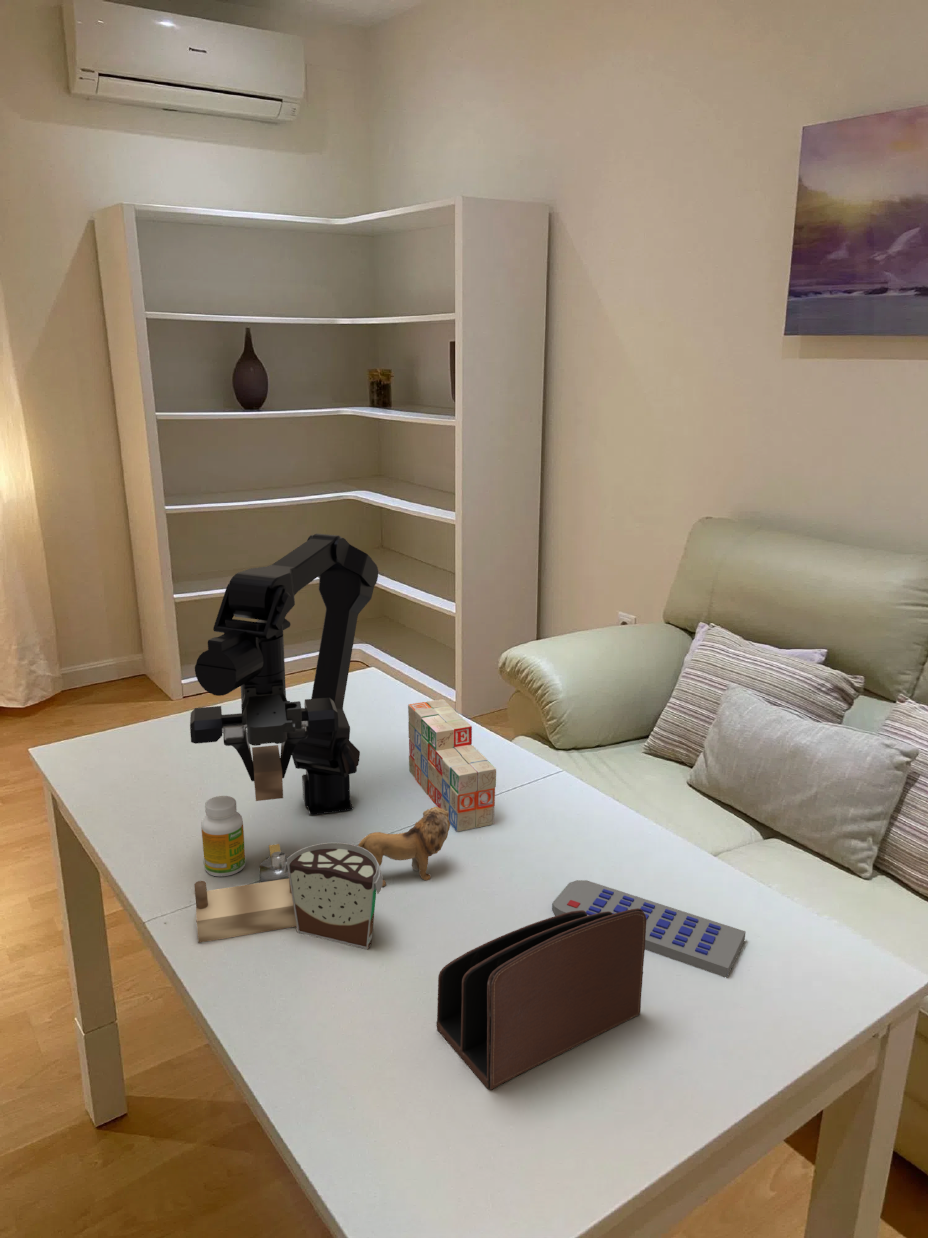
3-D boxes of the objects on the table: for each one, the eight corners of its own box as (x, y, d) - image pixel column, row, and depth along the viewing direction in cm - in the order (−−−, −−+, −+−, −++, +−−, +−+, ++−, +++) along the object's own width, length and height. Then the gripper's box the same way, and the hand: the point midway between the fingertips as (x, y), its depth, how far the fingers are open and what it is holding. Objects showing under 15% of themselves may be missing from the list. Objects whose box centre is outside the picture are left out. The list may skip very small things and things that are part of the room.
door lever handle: (292, 854, 127) (291, 830, 126) (300, 888, 120) (299, 862, 118) (256, 859, 126) (254, 835, 125) (261, 894, 118) (260, 868, 117)
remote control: (726, 983, 104) (728, 967, 103) (546, 918, 115) (547, 903, 114) (744, 945, 111) (746, 929, 110) (572, 887, 121) (573, 872, 121)
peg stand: (298, 897, 118) (297, 856, 116) (305, 925, 112) (303, 882, 110) (197, 913, 114) (193, 871, 112) (198, 943, 109) (194, 899, 107)
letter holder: (641, 1016, 98) (651, 902, 94) (489, 1094, 88) (492, 970, 84) (581, 964, 106) (588, 857, 102) (435, 1030, 96) (435, 914, 92)
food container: (400, 922, 113) (399, 851, 110) (379, 952, 107) (378, 878, 104) (310, 902, 117) (307, 832, 114) (286, 930, 111) (282, 858, 108)
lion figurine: (442, 855, 128) (442, 797, 125) (456, 875, 123) (457, 815, 120) (339, 877, 122) (337, 817, 120) (350, 898, 118) (348, 837, 115)
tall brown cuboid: (279, 771, 127) (278, 745, 126) (283, 798, 120) (282, 770, 118) (253, 774, 126) (252, 747, 125) (255, 801, 119) (254, 773, 118)
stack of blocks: (495, 825, 136) (497, 749, 132) (456, 833, 134) (457, 756, 130) (443, 765, 155) (443, 697, 151) (407, 771, 152) (407, 702, 149)
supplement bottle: (235, 880, 121) (230, 814, 118) (197, 875, 122) (192, 810, 119) (252, 858, 126) (248, 795, 123) (215, 853, 127) (211, 791, 124)
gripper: (185, 697, 108) (194, 815, 113) (342, 685, 113) (345, 799, 118) (187, 666, 119) (195, 775, 123) (331, 656, 123) (334, 762, 128)
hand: (267, 778), depth 123 cm, fingers closed on tall brown cuboid, 3 cm apart
